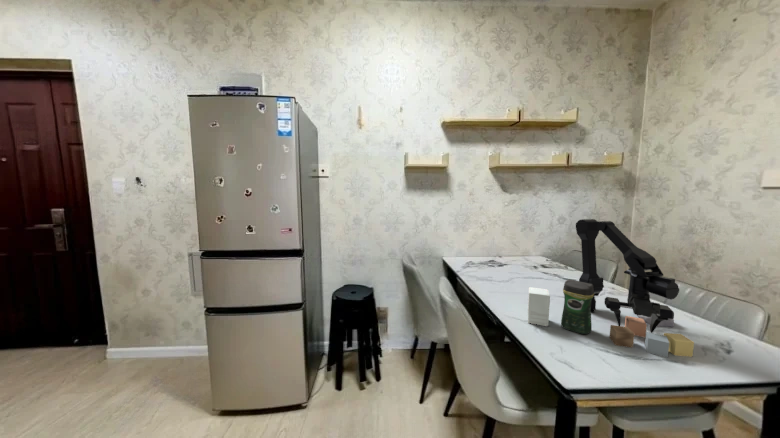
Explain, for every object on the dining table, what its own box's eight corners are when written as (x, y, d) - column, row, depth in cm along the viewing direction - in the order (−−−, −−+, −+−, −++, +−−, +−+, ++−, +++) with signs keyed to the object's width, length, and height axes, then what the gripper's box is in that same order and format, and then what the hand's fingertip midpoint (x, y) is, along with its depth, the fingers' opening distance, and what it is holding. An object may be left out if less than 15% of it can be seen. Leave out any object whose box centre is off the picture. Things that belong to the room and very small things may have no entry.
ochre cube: (674, 355, 92) (676, 340, 92) (662, 346, 97) (663, 333, 97) (692, 356, 92) (694, 342, 91) (679, 348, 97) (680, 334, 96)
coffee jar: (593, 329, 109) (597, 282, 107) (587, 337, 103) (592, 287, 101) (564, 321, 116) (567, 276, 114) (558, 327, 110) (561, 281, 108)
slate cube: (646, 352, 94) (648, 338, 94) (644, 345, 98) (646, 331, 98) (667, 357, 91) (669, 343, 91) (664, 350, 95) (666, 336, 95)
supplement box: (547, 319, 118) (549, 289, 116) (548, 327, 111) (550, 295, 109) (527, 315, 121) (528, 286, 119) (527, 323, 114) (528, 292, 112)
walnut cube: (615, 345, 98) (616, 331, 98) (609, 338, 103) (610, 324, 102) (632, 348, 97) (634, 334, 96) (626, 340, 102) (627, 326, 101)
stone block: (647, 330, 112) (677, 327, 110) (645, 318, 112) (675, 315, 110) (628, 317, 124) (655, 314, 122) (627, 306, 124) (653, 303, 122)
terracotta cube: (627, 334, 106) (628, 321, 105) (624, 328, 110) (625, 315, 109) (645, 337, 103) (646, 324, 103) (641, 331, 108) (642, 318, 107)
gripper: (611, 291, 102) (607, 333, 104) (683, 301, 93) (677, 346, 95) (605, 282, 112) (602, 320, 114) (670, 290, 103) (665, 331, 105)
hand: (634, 329), depth 107 cm, fingers open, 9 cm apart
